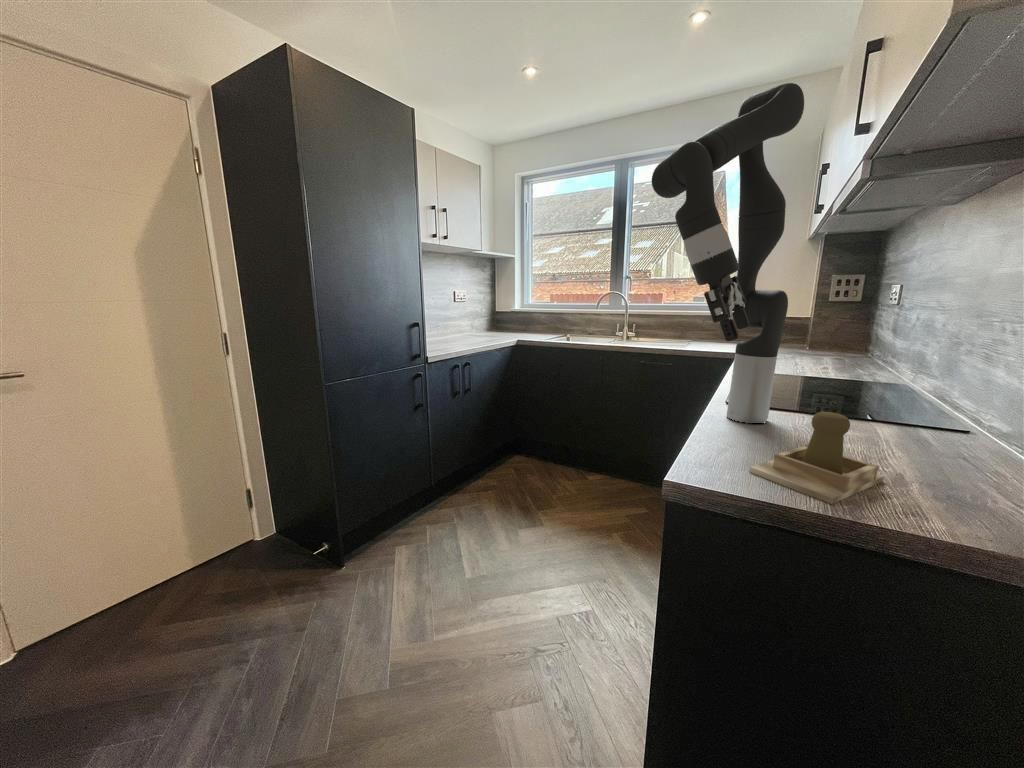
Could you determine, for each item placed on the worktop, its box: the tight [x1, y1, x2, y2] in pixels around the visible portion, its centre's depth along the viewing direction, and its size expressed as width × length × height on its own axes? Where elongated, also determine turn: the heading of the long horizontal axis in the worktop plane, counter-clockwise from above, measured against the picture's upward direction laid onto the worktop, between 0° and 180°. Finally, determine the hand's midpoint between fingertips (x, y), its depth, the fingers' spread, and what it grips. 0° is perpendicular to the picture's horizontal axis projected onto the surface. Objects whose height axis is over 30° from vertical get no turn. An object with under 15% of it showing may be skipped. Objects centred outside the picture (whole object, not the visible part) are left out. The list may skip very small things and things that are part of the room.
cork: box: [802, 411, 851, 475], centre depth 70 cm, size 6×6×11 cm
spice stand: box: [748, 444, 885, 505], centre depth 72 cm, size 18×13×4 cm
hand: (738, 333), depth 78 cm, fingers open, 8 cm apart
